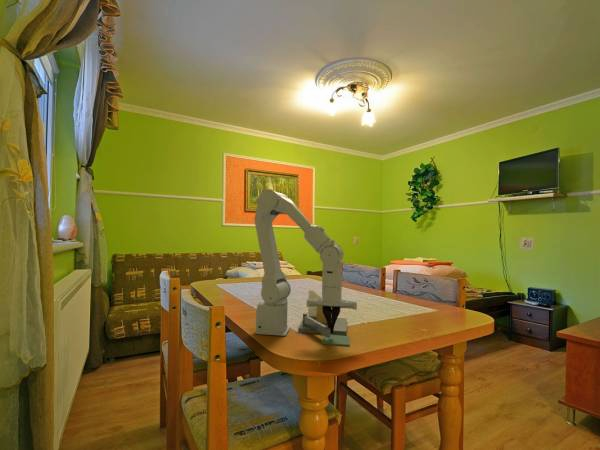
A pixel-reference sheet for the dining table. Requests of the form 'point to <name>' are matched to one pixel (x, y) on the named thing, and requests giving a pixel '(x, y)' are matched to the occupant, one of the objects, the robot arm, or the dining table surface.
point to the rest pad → (336, 340)
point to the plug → (321, 316)
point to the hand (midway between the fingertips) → (331, 332)
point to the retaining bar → (316, 326)
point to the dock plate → (339, 326)
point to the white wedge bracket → (311, 310)
